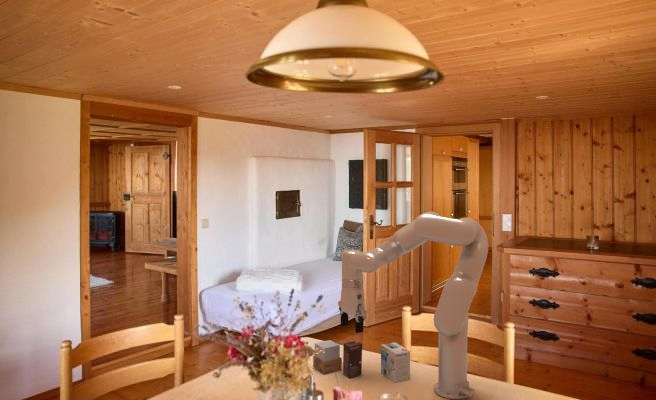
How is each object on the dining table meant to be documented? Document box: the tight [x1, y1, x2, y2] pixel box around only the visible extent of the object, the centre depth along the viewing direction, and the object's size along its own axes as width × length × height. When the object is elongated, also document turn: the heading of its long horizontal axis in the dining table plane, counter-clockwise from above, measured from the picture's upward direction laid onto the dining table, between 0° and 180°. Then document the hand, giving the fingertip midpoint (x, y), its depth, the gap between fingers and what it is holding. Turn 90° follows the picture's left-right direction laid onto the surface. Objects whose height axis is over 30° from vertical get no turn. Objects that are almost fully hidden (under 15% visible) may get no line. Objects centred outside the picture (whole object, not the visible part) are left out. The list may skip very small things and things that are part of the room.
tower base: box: [312, 354, 343, 376], centre depth 188 cm, size 8×8×5 cm
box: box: [342, 340, 363, 379], centre depth 182 cm, size 6×4×12 cm
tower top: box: [314, 339, 341, 362], centre depth 187 cm, size 7×7×5 cm
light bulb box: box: [380, 341, 411, 383], centre depth 181 cm, size 11×7×11 cm, turn 23°
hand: (351, 328), depth 181 cm, fingers open, 9 cm apart
